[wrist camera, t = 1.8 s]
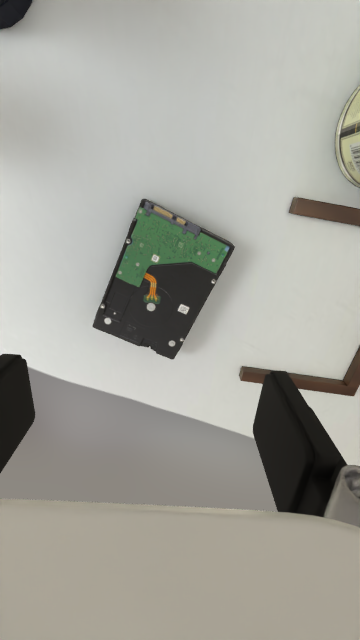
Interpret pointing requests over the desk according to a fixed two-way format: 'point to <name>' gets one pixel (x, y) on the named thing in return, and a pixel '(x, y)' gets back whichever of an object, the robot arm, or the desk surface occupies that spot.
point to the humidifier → (12, 11)
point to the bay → (356, 373)
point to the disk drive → (161, 280)
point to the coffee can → (349, 139)
